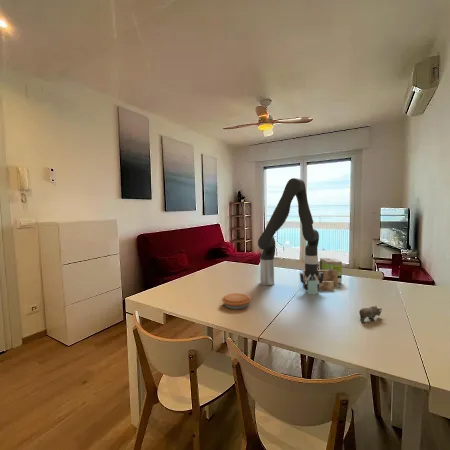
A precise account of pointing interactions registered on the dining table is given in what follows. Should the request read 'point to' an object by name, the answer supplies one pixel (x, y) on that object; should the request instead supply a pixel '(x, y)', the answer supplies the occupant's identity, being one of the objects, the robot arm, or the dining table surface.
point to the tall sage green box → (312, 286)
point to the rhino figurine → (369, 313)
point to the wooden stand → (327, 279)
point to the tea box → (332, 266)
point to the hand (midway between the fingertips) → (311, 289)
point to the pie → (236, 301)
